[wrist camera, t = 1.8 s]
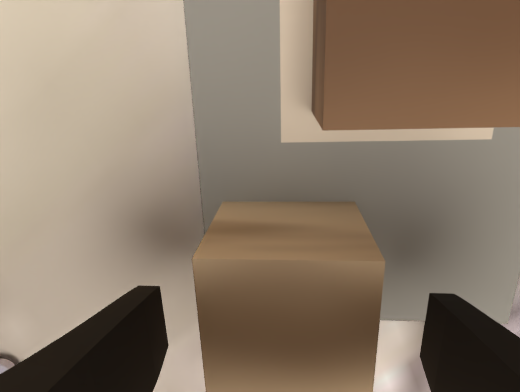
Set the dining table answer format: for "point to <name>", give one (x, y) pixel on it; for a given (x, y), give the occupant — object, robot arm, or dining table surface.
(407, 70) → the walnut block
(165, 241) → the dining table surface
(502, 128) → the board
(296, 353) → the maple block
